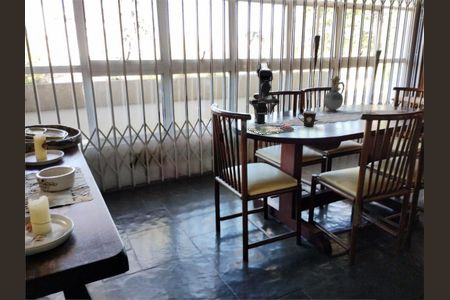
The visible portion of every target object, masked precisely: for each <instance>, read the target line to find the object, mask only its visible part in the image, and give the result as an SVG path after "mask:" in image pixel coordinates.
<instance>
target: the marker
mask: <svg viewBox="0 0 450 300" xmlns="http://www.w3.org/2000/svg"><path fill="white" fill-rule="evenodd" d="M263 126H264V125H261V124H254V128H255V129H257V130H259V131H262V132H265V131H266V128H265V127H263Z"/></svg>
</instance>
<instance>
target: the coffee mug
mask: <svg viewBox="0 0 450 300" xmlns="http://www.w3.org/2000/svg"><path fill="white" fill-rule="evenodd" d="M300 115H301V116H302V117H303V119H301V118H300V117H299V116H300ZM316 115H317V112H316V111H313V110H312V111H311V110H304V111H303V113H298V114H297V118H298V119H299V120H300V121H301V122H302V123H303V127H304V126H305V128H314V127H315V121H316Z"/></svg>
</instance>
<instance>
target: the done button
mask: <svg viewBox="0 0 450 300" xmlns="http://www.w3.org/2000/svg"><path fill="white" fill-rule="evenodd" d="M282 127H283V128H285V129H289V128H291V125H290V124H284V125H283V126H282Z"/></svg>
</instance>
